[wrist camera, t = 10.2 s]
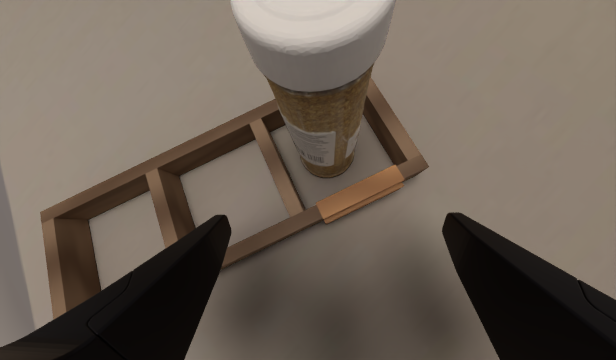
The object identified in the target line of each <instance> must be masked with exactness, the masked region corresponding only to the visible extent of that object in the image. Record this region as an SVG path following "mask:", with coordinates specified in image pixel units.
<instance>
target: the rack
mask: <svg viewBox="0 0 616 360" xmlns="http://www.w3.org/2000/svg"><path fill="white" fill-rule="evenodd" d="M363 114H364V116H365V117H366V119H367V121H368V122H369V124H370V126H371V127H372V129H373V131H374V132H375V134H376V136H377V137H378V139H379V141H380V142H381V144H382V145H383V147H384V149H385V150H386V152H387V154H388V155H389V157H390V159H391V160H392V162H393V164H394V165H393V166H391V167H389V168H387V169H385V170H383V171H381V172H379V173H376V174H374V175H372V176H370V177H368V178H366V179H364V180H362V181H360V182H358V183H356V184H354V185H352V186H349V187H347V188H345V189H343V190H341V191H339V192H337V193H335V194H333V195H331V196H329V197H327V198H325V199H323V200H320V201H318V202H316V205H315V206H313V207H311V208H309V209H307V210H305V207H304V205H303V203H302V201H301V199H300V197H299V194H298V192H297V190H296V188H295V186H294V184H293V181H292V179H291V177H290V175H289V173H288V171H287V168H286V166H285V164H284V162H283V160H282V157H281V155H280V153H279V151H278V149H277V147H276V144H275V142H274V140H273V138H272V136H271V134H270V132H271V131H273V130H275V129H277V128H279V127H281V126H283V125H285V122H284V120H283V117H282V115H281V113H280V111H279V108H278V105H277V101H276V99H274V100H272V101H270V102H267V103H265V104H263V105H261V106H259V107H257V108H255V109H253V110H251V111H249V112H247V113H245V114H243V115H241V116H238V117H236V118H234V119H232V120H230V121H228V122H226V123H224V124H222V125H220V126H218V127H216V128H214V129H212V130H209V131H207V132H205V133H203V134H201V135H199V136H197V137H195V138H193V139H191V140H189V141H187V142H185V143H182V144H180V145H178V146H176V147H174V148H172V149H170V150H168V151H166V152H164V153H162V154H160V155H158V156H156V157H153V158H151V159H149V160H147V161H145V162H143V163H141V164H139V165H137V166H135V167H133V168H131V169H129V170H127V171H124V172H122V173H120V174H118V175H116V176H114V177H112V178H110V179H108V180H106V181H104V182H102V183H100V184H97V185H95V186H93V187H91V188H89V189H87V190H85V191H83V192H81V193H79V194H77V195H75V196H73V197H71V198H68V199H66V200H64V201H62V202H60V203H58V204H56V205H54V206H52V207H50V208H48V209H46V210H44V211H42V212H40V214H41V222H42V230H43V238H44V246H45V254H46V262H47V270H48V278H49V286H50V294H51V302H52V310H53V318H54V319H56V318H57V317H59V316H61V315H62V314H64V313H66V312H67V311H69V310H71V309H72V308H74V307H76V306H77V305H79V304H81V303H82V302H84V301H86V300H87V299H89V298H91V297H92V296H94V295H95V294H97V293H99V292H100V291H101V289H100V283H99V278H98V273H97V267H96V262H95V256H94V251H93V245H92V240H91V234H90V229H89V223H88V219H91V218H93V217H95V216H97V215H99V214H101V213H103V212H105V211H107V210H109V209H111V208H113V207H115V206H118V205H120V204H122V203H124V202H126V201H128V200H130V199H132V198H134V197H136V196H138V195H140V194H142V193H144V192H147V191H149V190H150V192H151V196H152V200H153V203H154V207H155V211H156V214H157V218H158V222H159V225H160V229H161V233H162V236H163V240H164V244H165V248H167V247H169V246H170V245H172V244H173V243H175V242H176V241H178V240H179V239H181V238H182V237H184V236H185V235H187V234H188V233H190V232H191V231H193V230H194V229H195V226H194V223H193V220H192V216H191V213H190V210H189V207H188V204H187V200H186V197H185V194H184V191H183V188H182V185H181V181H180V178H179V176H180V175H182V174H184V173H186V172H188V171H190V170H192V169H194V168H196V167H198V166H200V165H203V164H205V163H207V162H209V161H211V160H213V159H215V158H217V157H219V156H221V155H223V154H225V153H227V152H229V151H232V150H234V149H236V148H238V147H240V146H242V145H244V144H246V143H248V142H250V141H252V140H254V139H256V140H257V142H258V145H259V147H260V149H261V151H262V154H263V156H264V158H265V161H266V163H267V165H268V167H269V170H270V172H271V174H272V177H273V179H274V181H275V183H276V186H277V188H278V190H279V193H280V195H281V197H282V199H283V202H284V204H285V206H286V209H287V211H288V213H289V215H290V218H288V219H286V220H284V221H282V222H280V223H278V224H275V225H273V226H271V227H269V228H267V229H265V230H263V231H261V232H259V233H257V234H255V235H253V236H251V237H249V238H246V239H244V240H242V241H240V242H238V243H236V244H234V245H232V246H230V247H228V248H227V250H226V254H225V257H224V261H223V264H222V267H221V269H223V268H225V267H228V266H230V265H232V264H234V263H236V262H238V261H240V260H242V259H244V258H246V257H248V256H250V255H252V254H254V253H257V252H259V251H261V250H263V249H265V248H267V247H269V246H271V245H273V244H275V243H277V242H279V241H281V240H284V239H286V238H288V237H290V236H292V235H294V234H296V233H298V232H300V231H302V230H304V229H306V228H308V227H310V226H313V225H315V224H317V223H319V222H321V221H323V220H324V221H325V223H326V224H328V223H330V222H332V221H334V220H337V219H339V218H341V217H343V216H345V215H347V214H349V213H351V212H353V211H355V210H357V209H359V208H361V207H363V206H366V205H368V204H370V203H372V202H374V201H376V200H378V199H380V198H382V197H384V196H386V195H388V194H390V193H393V192H395V191H397V190H398V189H400V188H401V187H403V186H404V185H403V183H402V182H404V181H406V180H408V179H410V178H412V177H414V176H416V175H418V174H419V173H421V172H422V171H424V170H425V169H427V168H428V167H429V166H428V164H427V163H426V161H425V160H424V158H423V156H422V155H421V153H420V152H419V150H418V149H417V147H416V146H415V144H414V143H413V141H412V140H411V138H410V137H409V135H408V133H407V132H406V130H405V129H404V127H403V126H402V124H401V123H400V121H399V120H398V118H397V117H396V115H395V114H394V112H393V110H392V109H391V107H390V106H389V104H388V103H387V101H386V100H385V98H384V97H383V95H382V94H381V92H380V91H379V89H378V88H377V86H376V84H375V83H374V81H373V80H372V78H371V77H370V81H369V86H368V91H367V95H366V98H365V103H364V109H363Z"/></svg>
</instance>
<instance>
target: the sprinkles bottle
mask: <svg viewBox="0 0 616 360" xmlns="http://www.w3.org/2000/svg"><path fill="white" fill-rule="evenodd" d="M395 1H396V0H231V7H232V11H233V15H234V17H235V20H236V22H237V25H238V27H239V30H240V32H241V34H242V37H243V39H244V41H245V44H246V46H247V48H248V50H249V52H250V54H251V57H252V59H253V61H254V63H255V64H256V66H257V67H258V69H259V70H260V71H261V72H262V73H263V75H264V76H265V77H266V78H267V80H268V82H269V84H270V87H271V89H272V91H273V93H274V96H275V99H276V101H277V105H278V108H279V111H280V113H281V115H282V117H283V120H284V122H285V124H286V126H287V129H288V131H289V133H290V135H291V137H292V139H293V142H294V144H295V146H296V148H297V150H298V152H299V153H300V158H301V161H302V163H303V165H304V166H305V167H306V169H307V170H308V171H309V172H311V173H312V174H314V175H316V176H319V177H333V176H337V175H340V174H342V173H343V172H344V171H345V170H346V169H347V168H348V167H349V165H350V164H351V162H352V161H353V158H354V148H355V145H356V142H357V138H358V134H359V130H360V125H361V119H362V114H363V109H364V103H365V98H366V95H367V91H368V86H369V81H370V77H371V72H372V67H373V65H374V62H375V61H376V59H377V58H378V56H379V55H380V53H381V51H382V49H383V47H384V44H385V41H386V37H387V34H388V30H389V26H390V23H391V19H392V14H393V10H394V6H395Z"/></svg>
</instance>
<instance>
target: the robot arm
mask: <svg viewBox="0 0 616 360" xmlns="http://www.w3.org/2000/svg"><path fill="white" fill-rule="evenodd" d="M442 233H443V236H444V239H445V242H446V245H447V247H448V250H449V253H450V256H451V258H452V261H453V264H454V267H455V269H456V271H457V274H458V276H459V278H460V280H461V282H462V284H463V286H464V288H465V290H466V292H467V294H468V296H469V298H470V300H471V302H472V304H473V306H474V308H475V310H476V312H477V314H478V316H479V318H480V320H481V322H482V324H483V326H484V328H485V330H486V332H487V335H488V337H489V339H490V341H491V343H492V345H493V347H494V349H495V351H496V353H497V355H498V357H499V359H500V360H616V300H615V299H613V298H611V297H609V296H608V295H606V294H604V293H602V292H600V291H598V290H597V289H595V288H593V287H591V286H590V285H588V284H586V283H584V282H583V281H581V280H577V278H575V277H574V276H572V275H570V274H568V273H566V272H565V271H563V270H561V269H559V268H558V267H556V266H554V265H552V264H551V263H549V262H547V261H545V260H543V259H542V258H540V257H538V256H536V255H535V254H533V253H531V252H529V251H527V250H526V249H524V248H522V247H520V246H519V245H517V244H515V243H513V242H511V241H510V240H508V239H506V238H504V237H503V236H501V235H499V234H497V233H495V232H494V231H492V230H490V229H488V228H487V227H485V226H483V225H481V224H480V223H478V222H476V221H474V220H472V219H471V218H469V217H467V216H465V215H464V214H462V213H448V214H447V216H446V218H445V222H444V225H443V228H442ZM230 236H231V227H230V224H229V221H228V218H227V216H226V215H215V216H214V217H212V218H211V219H209V220H208V221H206V222H205V223H203V224H202V225H200V226H199V227H197V228H196V229H194V230H193V231H191V232H190V233H188V234H187V235H185V236H184V237H182V238H181V239H179V240H178V241H176V242H175V243H173V244H172V245H170V246H169V247H167V248H166V249H164V250H163V251H161V252H160V253H158V254H157V255H155V256H154V257H152V258H151V259H149V260H148V261H146V262H145V263H143V264H142V265H140V266H139V267H137V268H136V269H134V270H133V271H131V272H129V273H128V274H127V275H125V276H124V277H122V278H121V279H119V280H117V281H116V282H114V283H113V284H111V285H110V286H108V287H107V288H105V289H104V290H102V291H100V292H99V293H97V294H95V295H94V296H92V297H91V298H89V299H87V300H86V301H84V302H82V303H81V304H79V305H77V306H76V307H74V308H72V309H71V310H69V311H67V312H66V313H64V314H62V315H61V316H59V317H57V318H56V319H54V320H52V321H51V322H49V323H47V324H46V325H44V326H42V327H41V328H39V329H37V330H36V331H34V332H32V333H30V334H29V335H27V336H25V337H23V338H21V339H19V340H17V341H15V342H12V343H10V344H8V345H5V346H3V347H0V360H184V359H185V356H186V354H187V351H188V349H189V347H190V344H191V342H192V339H193V337H194V334H195V332H196V329H197V327H198V324H199V322H200V319H201V317H202V314H203V312H204V309H205V307H206V305H207V302H208V300H209V297H210V295H211V292H212V290H213V287H214V285H215V282H216V280H217V277H218V275H219V272H220V270H221V267H222V264H223V261H224V257H225V254H226V250H227V247H228V243H229V240H230Z"/></svg>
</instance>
